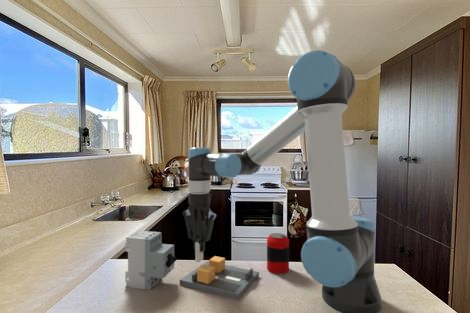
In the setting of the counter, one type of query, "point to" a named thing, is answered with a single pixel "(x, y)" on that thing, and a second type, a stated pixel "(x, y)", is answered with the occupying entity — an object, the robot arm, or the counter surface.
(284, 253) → the soda can
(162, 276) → the circuit breaker
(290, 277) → the counter surface
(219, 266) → the tab
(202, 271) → the tab
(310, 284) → the counter surface
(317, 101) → the robot arm
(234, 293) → the switch board
